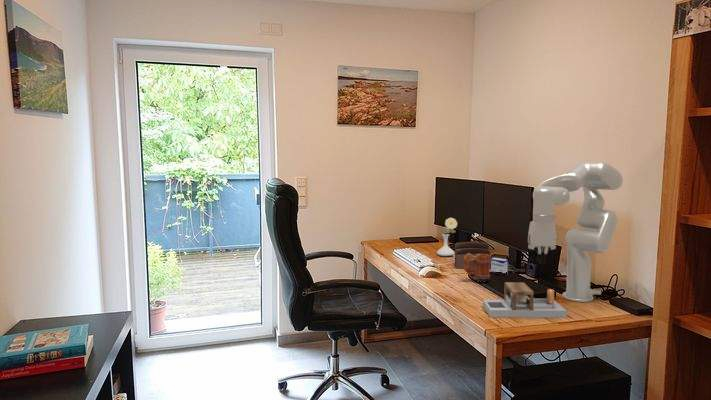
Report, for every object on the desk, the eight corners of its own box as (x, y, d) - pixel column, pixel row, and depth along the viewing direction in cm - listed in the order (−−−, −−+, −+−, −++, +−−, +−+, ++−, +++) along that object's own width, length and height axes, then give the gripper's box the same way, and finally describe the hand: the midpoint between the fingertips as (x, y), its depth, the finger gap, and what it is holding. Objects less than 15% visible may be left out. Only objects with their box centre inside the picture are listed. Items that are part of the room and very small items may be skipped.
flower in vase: (435, 257, 287) (435, 218, 284) (437, 253, 297) (437, 216, 295) (456, 258, 283) (456, 219, 280) (457, 254, 294) (458, 216, 291)
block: (522, 303, 188) (522, 291, 187) (526, 307, 183) (526, 295, 182) (510, 302, 188) (510, 291, 188) (513, 306, 183) (514, 295, 183)
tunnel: (523, 299, 192) (523, 282, 191) (533, 310, 179) (533, 291, 178) (504, 299, 192) (504, 282, 191) (512, 310, 179) (513, 291, 179)
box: (490, 274, 245) (490, 258, 244) (493, 272, 248) (493, 257, 247) (504, 276, 240) (504, 260, 239) (507, 274, 243) (508, 259, 242)
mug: (488, 279, 234) (488, 251, 233) (493, 283, 226) (494, 254, 225) (460, 280, 234) (460, 251, 232) (464, 284, 226) (465, 255, 224)
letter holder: (454, 264, 267) (454, 241, 266) (488, 265, 264) (489, 241, 263) (456, 268, 257) (456, 244, 256) (491, 269, 255) (491, 245, 253)
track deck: (554, 306, 191) (554, 300, 191) (566, 318, 178) (566, 310, 178) (482, 306, 193) (483, 299, 193) (489, 317, 180) (490, 310, 180)
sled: (550, 301, 189) (550, 287, 188) (557, 307, 181) (557, 292, 180) (505, 301, 190) (505, 286, 189) (510, 307, 182) (511, 292, 181)
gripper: (558, 217, 185) (556, 261, 186) (521, 217, 185) (520, 260, 187) (565, 220, 177) (563, 265, 179) (526, 220, 178) (525, 265, 180)
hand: (541, 263), depth 183 cm, fingers closed
